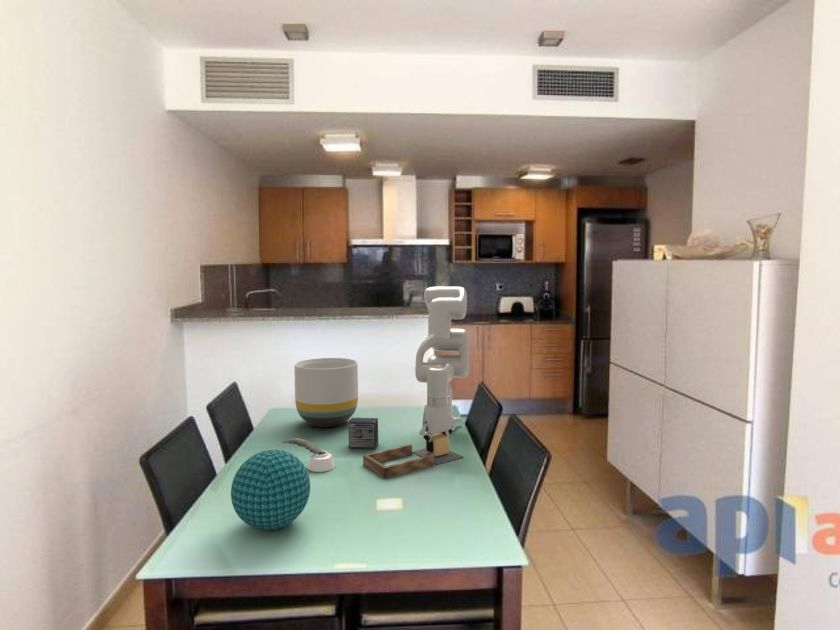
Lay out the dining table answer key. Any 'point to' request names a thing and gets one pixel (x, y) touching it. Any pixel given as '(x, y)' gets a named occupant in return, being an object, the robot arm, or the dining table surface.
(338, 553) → the dining table surface
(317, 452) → the inkwell
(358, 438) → the small box
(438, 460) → the charcoal mat
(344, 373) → the planter
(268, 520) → the decorative ball
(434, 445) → the ochre cube
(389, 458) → the walnut cubby
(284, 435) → the dining table surface
